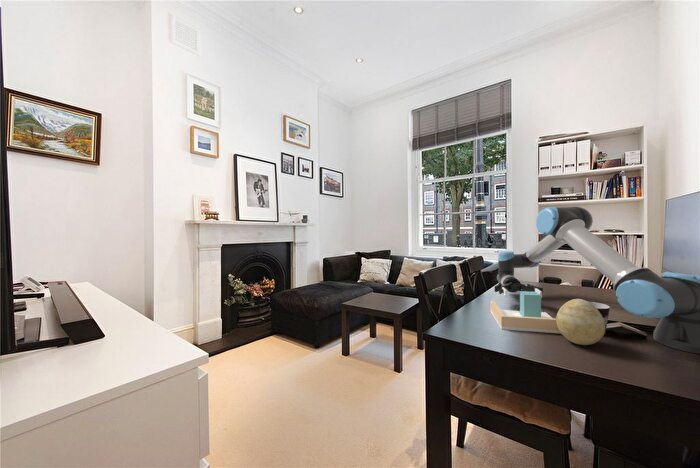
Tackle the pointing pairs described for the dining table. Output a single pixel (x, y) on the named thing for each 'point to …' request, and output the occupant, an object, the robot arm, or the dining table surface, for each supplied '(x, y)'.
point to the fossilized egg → (580, 322)
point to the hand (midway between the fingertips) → (523, 294)
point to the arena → (523, 321)
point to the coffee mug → (602, 311)
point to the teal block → (530, 304)
